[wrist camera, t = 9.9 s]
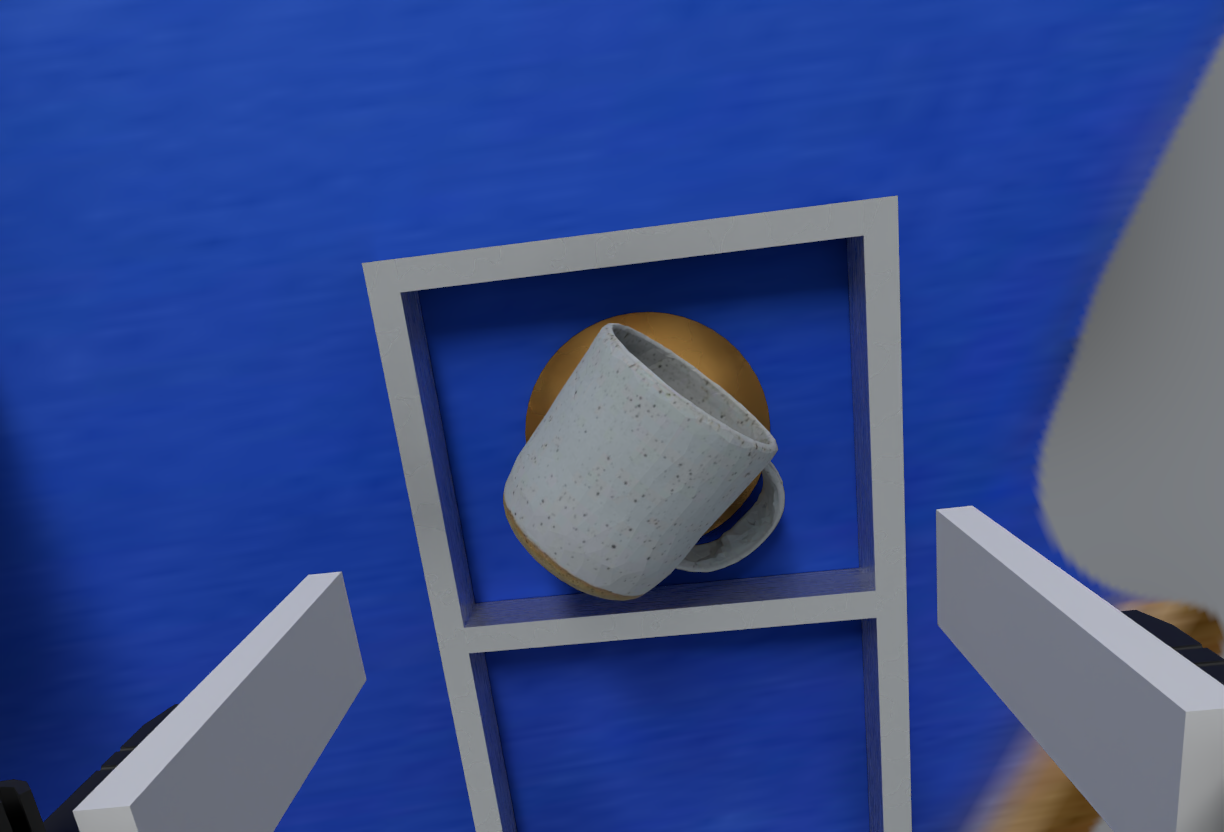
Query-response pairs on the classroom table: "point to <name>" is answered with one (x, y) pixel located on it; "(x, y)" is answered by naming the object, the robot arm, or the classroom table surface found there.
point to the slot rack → (717, 603)
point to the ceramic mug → (639, 472)
